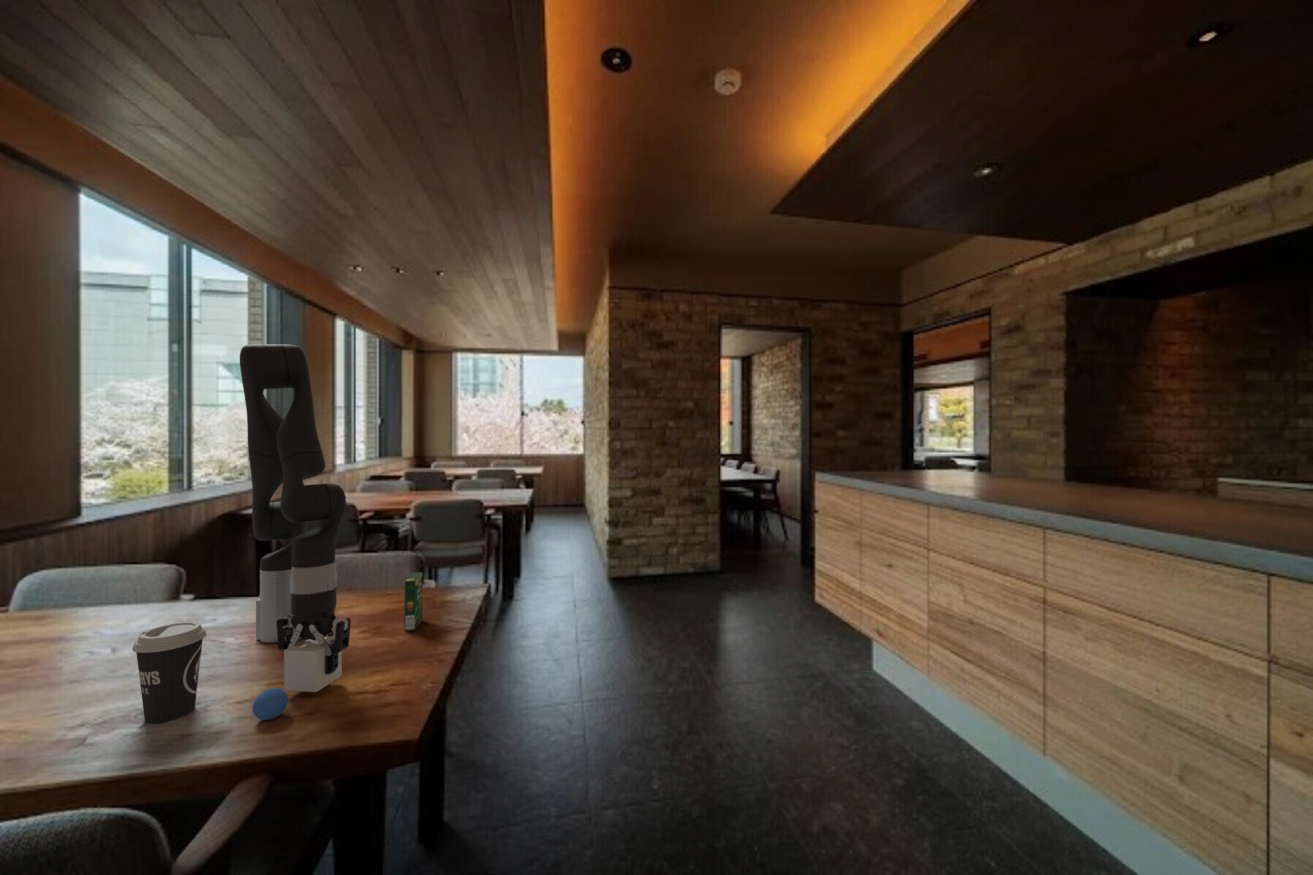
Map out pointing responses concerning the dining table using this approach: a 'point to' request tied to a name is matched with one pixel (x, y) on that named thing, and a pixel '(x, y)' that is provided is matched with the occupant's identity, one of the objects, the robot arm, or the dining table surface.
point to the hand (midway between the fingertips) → (313, 671)
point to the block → (308, 667)
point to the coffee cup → (169, 669)
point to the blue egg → (270, 704)
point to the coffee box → (413, 601)
